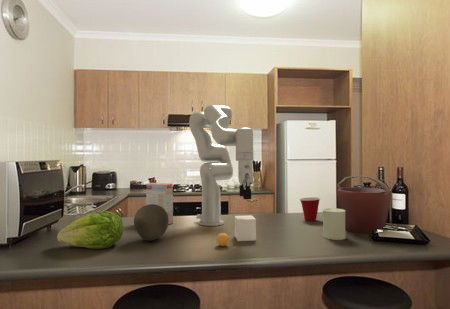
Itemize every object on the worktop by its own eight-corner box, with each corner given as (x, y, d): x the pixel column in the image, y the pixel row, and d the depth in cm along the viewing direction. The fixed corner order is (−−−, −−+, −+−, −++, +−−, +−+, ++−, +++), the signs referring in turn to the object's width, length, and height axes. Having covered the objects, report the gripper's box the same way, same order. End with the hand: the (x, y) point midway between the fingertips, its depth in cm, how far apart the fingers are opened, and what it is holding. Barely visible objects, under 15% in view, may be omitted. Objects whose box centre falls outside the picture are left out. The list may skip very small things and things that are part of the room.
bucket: (326, 225, 150) (326, 175, 150) (361, 222, 158) (361, 173, 158) (366, 238, 127) (365, 178, 127) (404, 233, 135) (403, 176, 135)
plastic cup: (304, 217, 171) (303, 195, 171) (323, 219, 165) (323, 197, 165) (296, 220, 162) (296, 198, 162) (316, 223, 156) (316, 199, 156)
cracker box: (173, 223, 158) (173, 183, 158) (165, 225, 153) (165, 184, 153) (154, 220, 166) (153, 182, 166) (145, 222, 161) (145, 183, 161)
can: (329, 233, 137) (328, 206, 137) (349, 236, 130) (349, 208, 130) (318, 237, 130) (318, 208, 130) (339, 241, 124) (339, 211, 124)
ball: (214, 246, 117) (214, 233, 117) (220, 243, 122) (220, 231, 122) (225, 248, 115) (225, 235, 115) (231, 245, 119) (231, 232, 119)
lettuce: (69, 224, 129) (50, 213, 116) (127, 215, 130) (114, 203, 117) (65, 259, 122) (45, 251, 109) (127, 249, 123) (113, 240, 110)
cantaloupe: (132, 238, 130) (131, 203, 130) (165, 234, 136) (164, 201, 136) (136, 247, 117) (135, 208, 117) (172, 243, 123) (172, 205, 123)
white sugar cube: (237, 241, 125) (237, 219, 125) (234, 236, 133) (234, 215, 133) (256, 240, 126) (255, 219, 126) (252, 235, 133) (252, 215, 133)
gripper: (257, 157, 121) (258, 200, 121) (249, 157, 138) (250, 195, 138) (239, 157, 120) (239, 200, 120) (233, 157, 137) (233, 195, 137)
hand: (245, 197), depth 129 cm, fingers open, 9 cm apart
